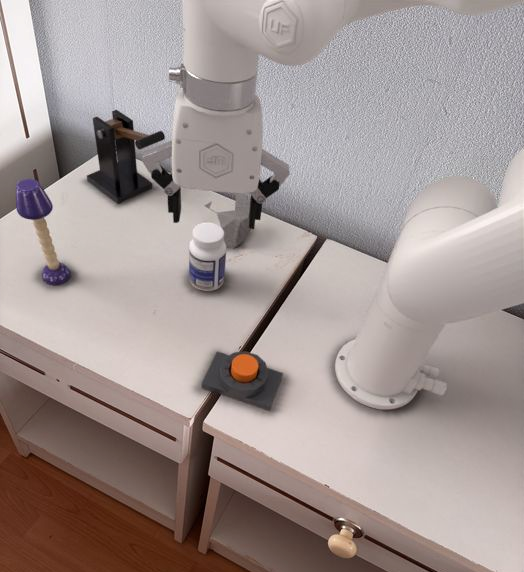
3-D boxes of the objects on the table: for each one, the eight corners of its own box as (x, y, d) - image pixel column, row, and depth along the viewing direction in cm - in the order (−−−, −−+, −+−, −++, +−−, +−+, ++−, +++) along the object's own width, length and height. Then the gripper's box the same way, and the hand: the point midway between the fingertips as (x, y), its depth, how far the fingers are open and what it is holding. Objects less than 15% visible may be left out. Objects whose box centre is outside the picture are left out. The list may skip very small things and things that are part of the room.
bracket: (152, 188, 97) (148, 123, 87) (118, 204, 93) (110, 138, 83) (121, 166, 100) (115, 101, 90) (87, 181, 96) (76, 114, 86)
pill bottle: (210, 263, 86) (213, 215, 79) (230, 284, 84) (235, 236, 76) (181, 276, 84) (181, 227, 76) (201, 297, 81) (203, 249, 74)
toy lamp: (51, 291, 78) (24, 199, 65) (31, 276, 80) (1, 183, 67) (76, 275, 81) (55, 184, 68) (56, 261, 82) (32, 169, 69)
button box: (282, 376, 74) (285, 363, 71) (269, 412, 70) (272, 400, 67) (217, 354, 75) (218, 342, 72) (200, 389, 71) (201, 377, 68)
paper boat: (233, 258, 86) (186, 229, 85) (231, 265, 93) (187, 239, 92) (269, 198, 87) (222, 169, 86) (265, 209, 94) (221, 183, 93)
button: (260, 366, 71) (261, 358, 70) (252, 386, 69) (253, 379, 68) (235, 358, 72) (236, 350, 70) (227, 378, 69) (228, 370, 68)
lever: (166, 143, 84) (163, 128, 83) (142, 153, 82) (138, 138, 80) (122, 130, 91) (119, 116, 89) (99, 139, 88) (95, 125, 87)
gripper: (129, 93, 50) (143, 232, 64) (304, 111, 52) (281, 243, 65) (140, 60, 55) (151, 196, 68) (300, 77, 56) (279, 207, 70)
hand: (214, 219), depth 67 cm, fingers open, 9 cm apart
